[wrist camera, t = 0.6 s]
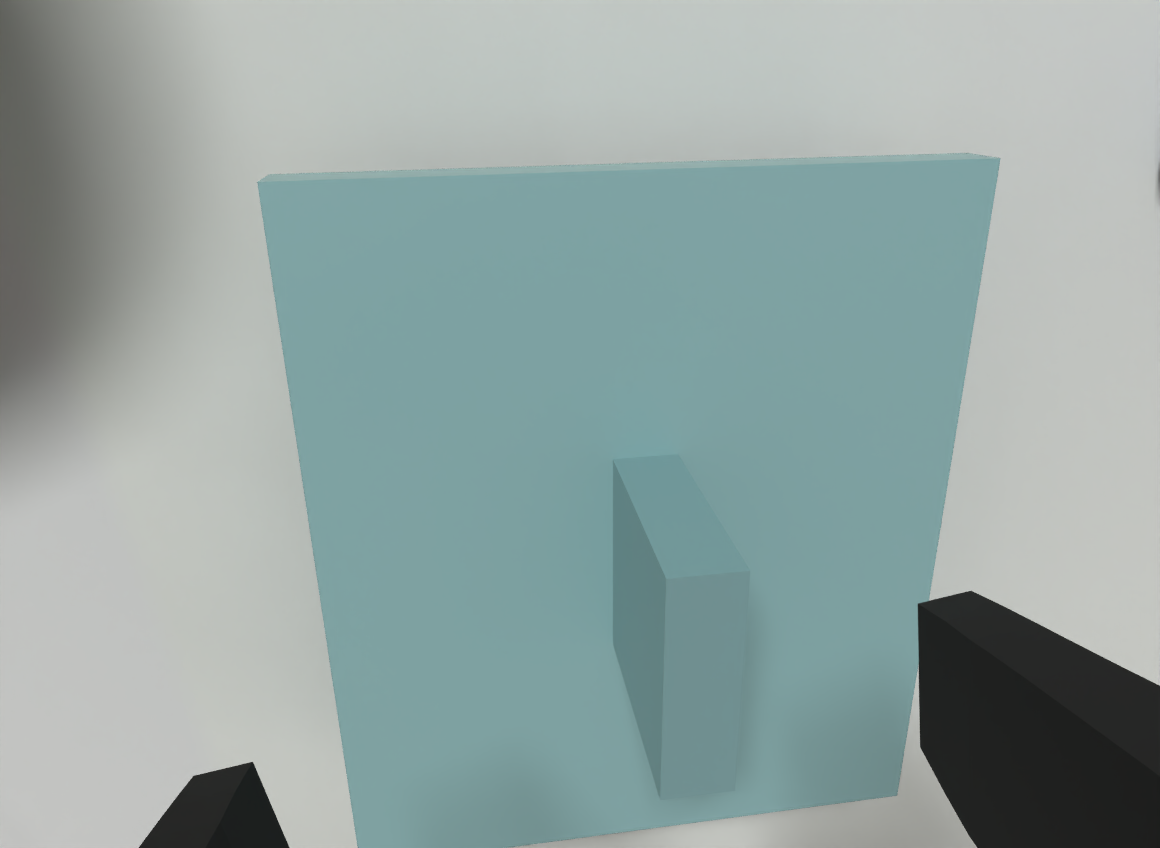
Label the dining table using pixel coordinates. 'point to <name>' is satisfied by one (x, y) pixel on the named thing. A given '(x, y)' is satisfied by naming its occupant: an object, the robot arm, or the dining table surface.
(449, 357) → the lid
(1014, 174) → the dining table surface
